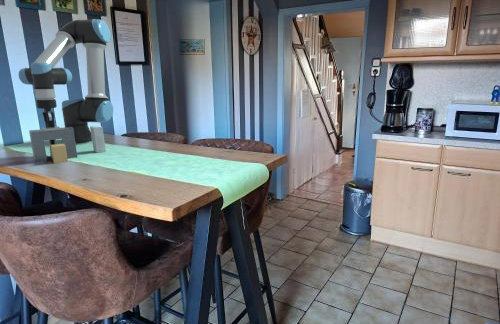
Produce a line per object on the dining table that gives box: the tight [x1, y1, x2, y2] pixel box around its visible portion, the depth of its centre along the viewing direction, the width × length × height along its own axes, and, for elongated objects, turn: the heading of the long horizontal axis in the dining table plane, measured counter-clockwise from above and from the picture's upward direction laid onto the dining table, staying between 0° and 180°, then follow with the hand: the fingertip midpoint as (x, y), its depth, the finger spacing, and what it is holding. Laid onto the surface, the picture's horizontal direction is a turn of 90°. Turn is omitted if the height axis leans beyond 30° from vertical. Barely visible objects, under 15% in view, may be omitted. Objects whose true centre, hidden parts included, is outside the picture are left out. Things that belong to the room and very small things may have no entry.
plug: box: [49, 143, 69, 164], centre depth 147 cm, size 5×16×7 cm, turn 37°
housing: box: [28, 125, 78, 163], centre depth 146 cm, size 16×6×14 cm, turn 127°
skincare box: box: [89, 125, 107, 153], centre depth 161 cm, size 6×4×12 cm
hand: (53, 151), depth 154 cm, fingers closed
